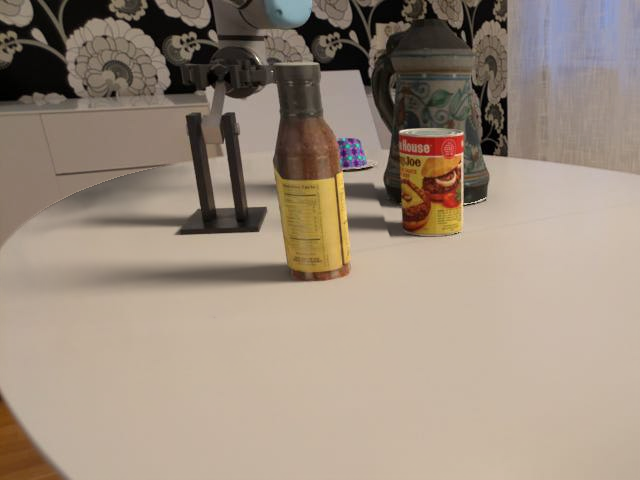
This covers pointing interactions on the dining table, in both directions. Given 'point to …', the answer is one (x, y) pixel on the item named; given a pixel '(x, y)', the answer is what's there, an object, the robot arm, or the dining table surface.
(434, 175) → the canned food
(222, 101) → the lever
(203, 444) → the dining table surface
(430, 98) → the beer stein
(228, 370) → the dining table surface
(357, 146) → the pudding
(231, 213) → the bracket
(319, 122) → the sauce bottle
